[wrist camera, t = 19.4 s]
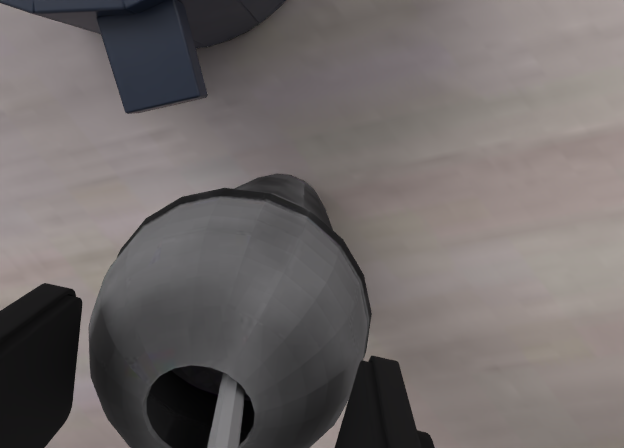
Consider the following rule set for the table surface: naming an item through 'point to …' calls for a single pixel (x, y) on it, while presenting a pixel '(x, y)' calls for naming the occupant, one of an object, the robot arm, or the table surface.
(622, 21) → the table surface
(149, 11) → the pot
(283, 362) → the beverage cup
